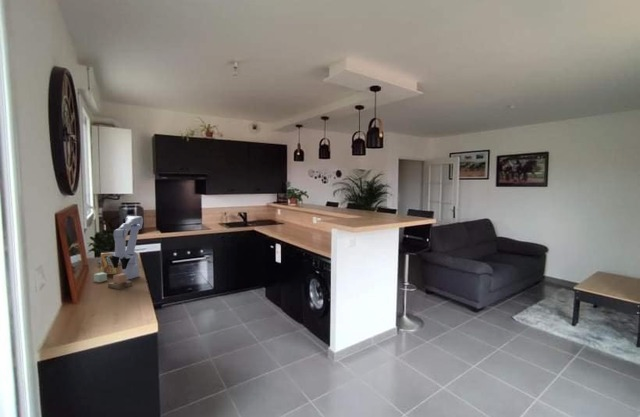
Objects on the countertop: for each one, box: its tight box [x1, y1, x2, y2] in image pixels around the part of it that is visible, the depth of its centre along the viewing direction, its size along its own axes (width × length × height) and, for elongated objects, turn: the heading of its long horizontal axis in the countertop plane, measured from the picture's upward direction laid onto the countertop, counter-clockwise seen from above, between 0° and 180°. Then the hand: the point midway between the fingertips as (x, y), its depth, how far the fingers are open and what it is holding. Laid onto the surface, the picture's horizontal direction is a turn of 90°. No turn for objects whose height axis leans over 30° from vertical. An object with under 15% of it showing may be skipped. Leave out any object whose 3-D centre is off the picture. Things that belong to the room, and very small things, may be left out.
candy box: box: [100, 251, 117, 276], centre depth 216 cm, size 9×4×15 cm, turn 129°
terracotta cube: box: [112, 272, 128, 284], centre depth 191 cm, size 5×5×5 cm
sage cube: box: [93, 271, 108, 283], centre depth 200 cm, size 5×5×5 cm
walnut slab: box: [107, 280, 133, 290], centre depth 191 cm, size 9×9×3 cm
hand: (119, 268), depth 194 cm, fingers open, 7 cm apart
